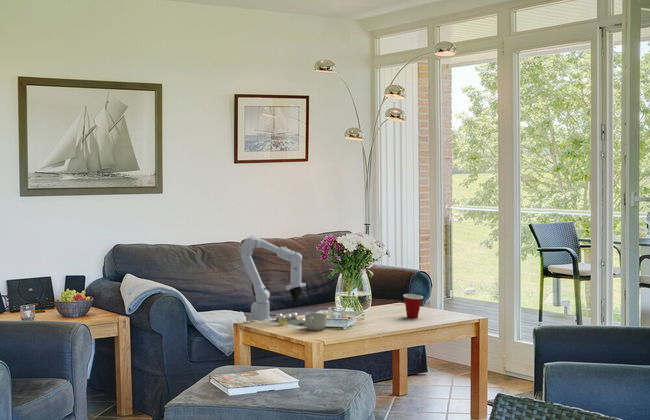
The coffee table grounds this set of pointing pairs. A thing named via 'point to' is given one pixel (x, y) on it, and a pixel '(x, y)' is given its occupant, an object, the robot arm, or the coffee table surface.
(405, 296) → the plastic cup
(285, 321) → the nut
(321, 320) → the teacup
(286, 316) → the spacers
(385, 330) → the coffee table surface
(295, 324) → the mat
